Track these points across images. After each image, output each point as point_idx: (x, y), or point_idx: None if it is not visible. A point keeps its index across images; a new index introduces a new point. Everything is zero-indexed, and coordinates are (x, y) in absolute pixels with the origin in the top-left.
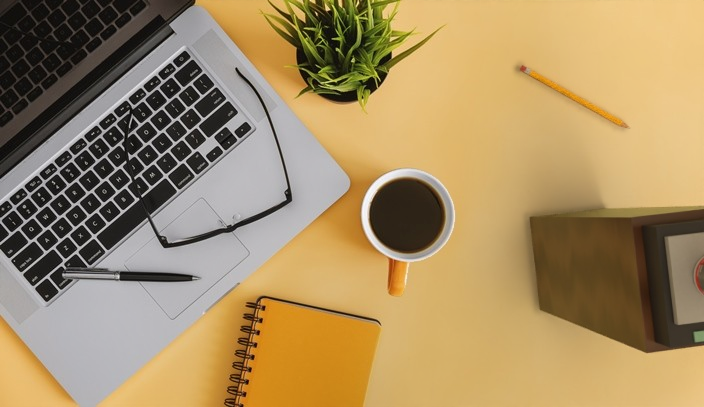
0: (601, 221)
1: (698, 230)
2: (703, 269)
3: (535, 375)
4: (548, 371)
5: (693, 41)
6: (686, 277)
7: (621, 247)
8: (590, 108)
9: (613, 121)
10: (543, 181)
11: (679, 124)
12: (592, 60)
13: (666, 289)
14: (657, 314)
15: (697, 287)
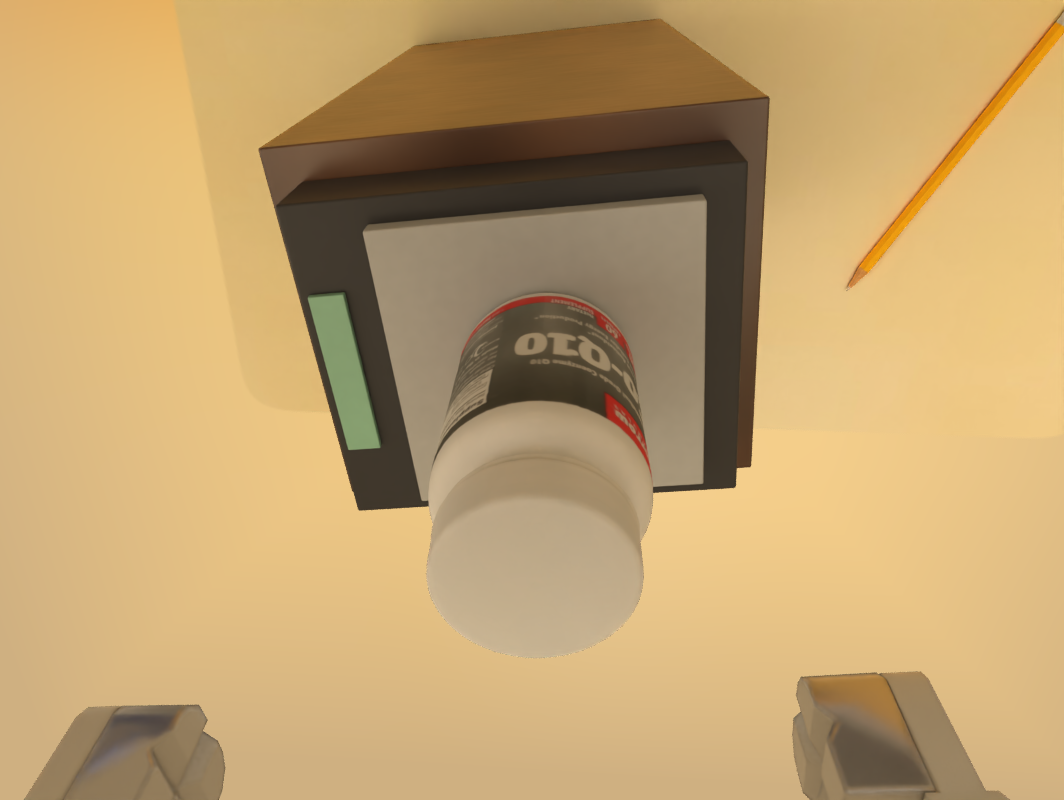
0: (714, 68)
1: (709, 324)
2: (578, 317)
3: (243, 29)
4: (258, 67)
5: (1005, 429)
6: (543, 268)
7: (638, 95)
8: (917, 195)
9: (871, 252)
10: (751, 63)
11: (831, 396)
12: (1035, 205)
13: (496, 197)
14: (400, 179)
15: (506, 302)
